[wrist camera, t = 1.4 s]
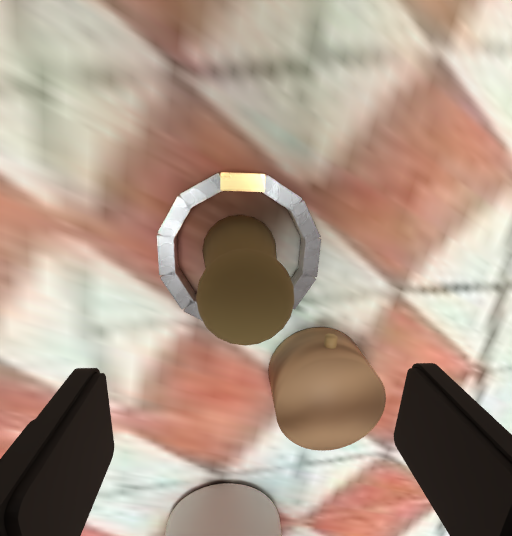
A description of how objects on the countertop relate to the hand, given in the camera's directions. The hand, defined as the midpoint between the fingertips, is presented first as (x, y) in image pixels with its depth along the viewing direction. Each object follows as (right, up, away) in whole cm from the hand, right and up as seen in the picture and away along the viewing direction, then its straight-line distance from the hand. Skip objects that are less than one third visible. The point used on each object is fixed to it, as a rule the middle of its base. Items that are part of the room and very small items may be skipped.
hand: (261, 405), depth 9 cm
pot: (+6, -5, +20) cm, 22 cm away
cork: (-1, +6, +16) cm, 17 cm away
